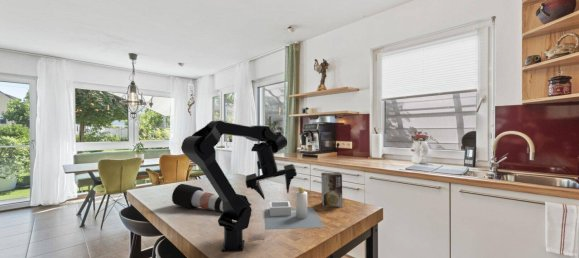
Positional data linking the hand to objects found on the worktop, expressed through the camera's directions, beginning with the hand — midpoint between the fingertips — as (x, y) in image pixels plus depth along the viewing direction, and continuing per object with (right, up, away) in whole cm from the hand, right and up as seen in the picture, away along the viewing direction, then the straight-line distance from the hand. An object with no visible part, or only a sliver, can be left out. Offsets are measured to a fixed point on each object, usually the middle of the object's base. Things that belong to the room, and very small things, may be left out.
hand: (276, 195), depth 97 cm
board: (+6, -12, +8) cm, 15 cm away
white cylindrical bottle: (+10, -11, +8) cm, 17 cm away
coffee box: (+25, -12, +26) cm, 38 cm away
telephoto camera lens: (-33, -13, +22) cm, 41 cm away
